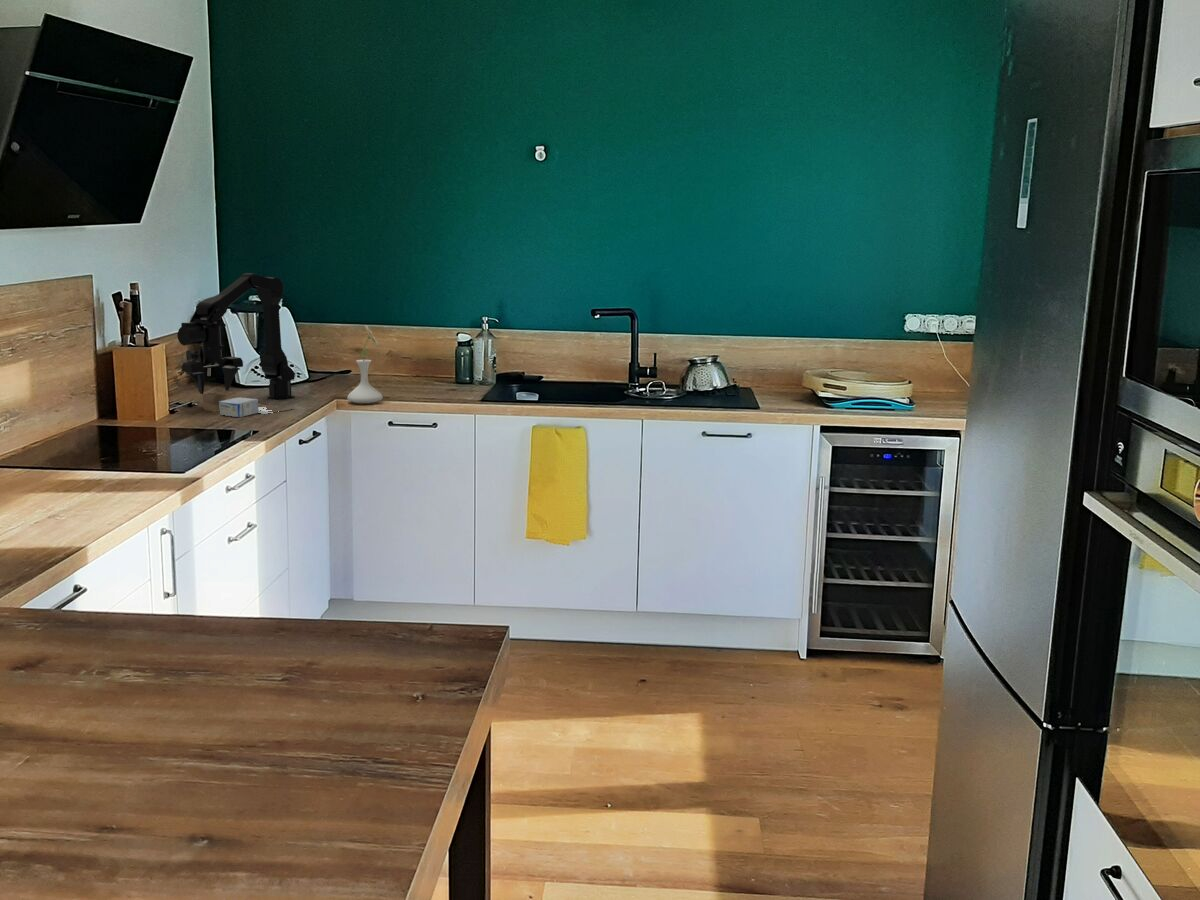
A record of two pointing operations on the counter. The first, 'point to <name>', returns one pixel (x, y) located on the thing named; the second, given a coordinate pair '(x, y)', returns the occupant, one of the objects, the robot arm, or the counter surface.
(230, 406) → the medicine box
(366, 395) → the flower in vase
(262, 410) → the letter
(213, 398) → the walnut block
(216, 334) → the robot arm
